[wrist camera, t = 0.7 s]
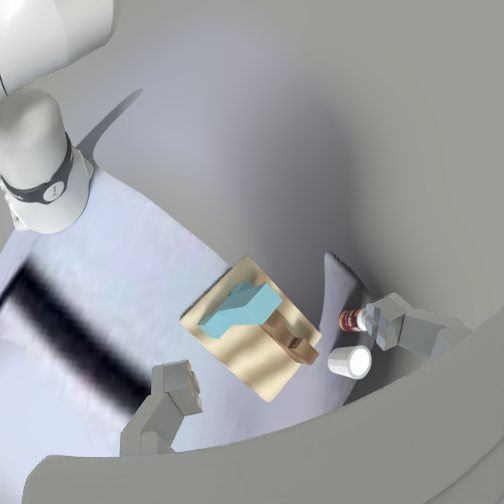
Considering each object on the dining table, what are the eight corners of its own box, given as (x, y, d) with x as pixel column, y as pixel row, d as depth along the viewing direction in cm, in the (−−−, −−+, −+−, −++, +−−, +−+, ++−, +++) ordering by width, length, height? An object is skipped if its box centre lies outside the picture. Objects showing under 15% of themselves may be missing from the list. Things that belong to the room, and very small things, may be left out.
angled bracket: (197, 325, 44) (227, 325, 30) (237, 284, 49) (281, 266, 35) (210, 338, 45) (245, 343, 31) (248, 297, 49) (297, 283, 35)
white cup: (340, 381, 54) (362, 384, 48) (320, 366, 53) (342, 369, 47) (353, 354, 57) (376, 355, 51) (335, 339, 56) (357, 338, 50)
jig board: (178, 320, 45) (185, 320, 39) (244, 255, 53) (259, 246, 47) (265, 401, 47) (282, 409, 41) (317, 335, 55) (337, 335, 49)
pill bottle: (340, 307, 59) (367, 303, 51) (355, 313, 60) (382, 310, 52) (336, 328, 57) (363, 327, 49) (351, 334, 58) (378, 332, 51)
